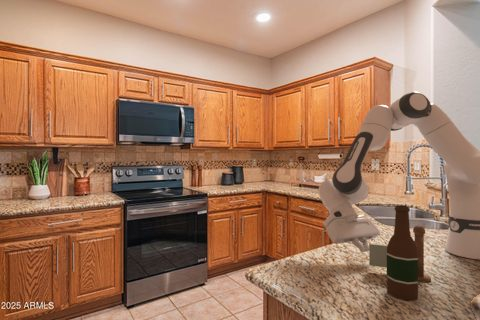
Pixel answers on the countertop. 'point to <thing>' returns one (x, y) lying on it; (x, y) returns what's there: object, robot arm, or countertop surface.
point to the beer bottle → (402, 259)
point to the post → (420, 253)
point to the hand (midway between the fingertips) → (365, 251)
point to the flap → (378, 255)
